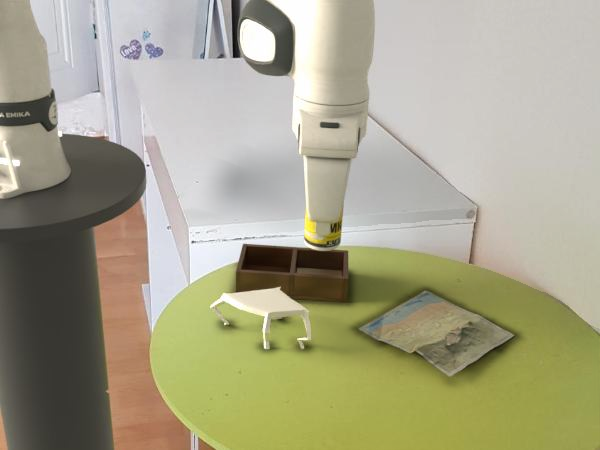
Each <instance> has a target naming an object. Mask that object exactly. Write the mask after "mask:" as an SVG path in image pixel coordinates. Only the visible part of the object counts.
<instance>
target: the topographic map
mask: <svg viewBox="0 0 600 450" xmlns="http://www.w3.org/2000/svg"><path fill="white" fill-rule="evenodd" d="M358 330H360V331H361V332H362V333H364V334H366V335H367V336H369V337H371V338H372V339H374V340H376V341H379V342H383V343H386V344H389V345H390V346H393V347H396V348H398V349H400V350H402V351H403V352H406V353H409V354H411V353H414V352H416V353H418V354H419V355H421V356H422V357H423V358H424V359H425V360H426V361H427V362H428V363H430V364H431V365H433V367H435V368H436V369H437V370H439V371H440V372H442V374H445V375H446V376H448V377H450V378H451V377H453V376H455V375H456V374H457V373H459V372H461V371H462V370H463V369H465V368H466V367H467V366H468V365H470V364H472V363H474V362H476V361H478V360H479V359H480V358H482V357H483V356H485V354H487V353H488V352H489V351H491V350H493V349H494V348H497V347H498V346H500V345H502V344H504V343H506V342H507V341H509V340H510V339H512V338H513V337H514V336H515V334H513V333H511V332H510V331H508V330H506V329H504V328H502V327H500V326H499V325H496V324H495V323H493V322H492V321H490V320H488V319H486V318H485V317H483V316H481V315H480V314H476V313H475V312H471V311H469V310H467V309H464V308H463V307H460V306H458V305H456V304H453V303H452V302H450V301H448V300H446V299H445V298H442V297H440V296H438V295H436V294H435V293H432V292H430V291H428V290H424V291H422V292H421V293H419V294H416V295H415V296H413V297H412V298H410V299H408V300H406V301H405V302H403V303H401V304H400V305H399V304H398V305H397V306H396V307H393V308H392V309H391V310H389V311H387V312H385V313H384V314H382V315H380V316H378V317H376V318H375V319H373V320H371V321H370V322H368V323H365V324H364V325H363V326H361V327H359V328H358Z"/></svg>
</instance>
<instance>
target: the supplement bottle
mask: <svg viewBox="0 0 600 450" xmlns="http://www.w3.org/2000/svg"><path fill="white" fill-rule="evenodd" d="M344 205H345V204H343V207H344ZM343 216H344V208H343V209H342V213H341V216H340V219H339V221H338V222H336V223H331V226H330V234H329V235H328V236H322V235H317V234H316V233H315V228H316V222H313V221H310V220H309V219H308V215H307V208H306V207H305V214H304V229H303V230H304V232H303V242H304V244H305V246H306V247H307V248H311V249H314V250H319V251H330V250H337V248H339V247H340V245H341V241H342V230H343Z"/></svg>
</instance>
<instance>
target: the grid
mask: <svg viewBox="0 0 600 450" xmlns="http://www.w3.org/2000/svg"><path fill="white" fill-rule="evenodd" d="M277 287H281V288H280V290H281V291H282V292H283V293H284V294H286V295H287V296H288V297H290V298H291V299H292V300H306V301H307V300H308V301H320V302H321V301H322V302H337V303H338V302H339V303H347V302H348V301H347V300H348V291H349V250H347V249H346V250H345V249H334V250H330V251H319V250H314V249H311V248H309V247H302V246H301V247H299V246H288V245H287V246H285V245H270V244H269V245H268V244H256V243H255V244H254V243H242V246H241V250H240V253H239V258H238V262H237V265H236V270H235V293H239V292H247V291H255V290H264V289H272V288H277Z"/></svg>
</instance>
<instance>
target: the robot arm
mask: <svg viewBox="0 0 600 450" xmlns="http://www.w3.org/2000/svg"><path fill="white" fill-rule="evenodd" d="M375 13H376V12H375V3H374V0H248V2H247V3H246V4H245V5H244V7H243V9H242V10H241V12H240V14H239V18H238V24H237V30H236V31H237V43H238V44H237V45H238V49H239V52H240V55H241V56H242V58H243V60H244V61H245V63H247V65H248V66H249V67H250V68H251V69H253V70H254V72H257V74H260V75H264V76H269V77H270V76H271V77H288V78H291V79H292V80H293V83H294V87H293V97H292V98H293V99H292V100H293V101H292V120H291V121H292V123H291V128H292V132H293V134H294V135H295V137H296V140H297V143H298V148H297V149H298V155H300V156H302V157H303V158H302V159H303V175H304V191H305V194H304V195H305V209H306V208H307V215H308V219H309V220H310V221H313V222H316V228H315V233H316V234H317V235H322V236H328V235H329V234H330V226H331V223H336V222H338V221H339V219H340V216H341V213H342V209H343V210H344V206H343V204H344V203H345V198H346V192H347V187H348V182H349V176H350V171H351V167H352V166H351V165H352V161H353V159H356V158H357V157H358V151H359V146H360V144H361V142H362V140H363V138H364V137H365V136H366V135H367V128H368V127H367V126H368V116H369V115H368V114H369V104H370V103H369V102H370V87H369V81H368V80H369V79H368V77H369V70H370V68H371V65H372V62H373V58H374V51H375V50H374V49H375V34H376V32H375V31H376V14H375ZM58 123H59V110H58V104H57V99H56V92H55V90H54V88H52V80H51V72H50V62H49V53H48V45H47V41H46V38H45V37H44V35H42V33H41V32H40V30H39V28H38V23H37V22H36V19H35V16H34V13H33V8H32V6H31V0H0V199H7V198H12V197H15V196H17V195H20V194H23V193H26V192H32V191H37V190H42V189H46V188H49V187H52V186H54V185H57V184H59V183H61V182H63V181H64V180H66V179H67V178H68V177H69V175H70V173H71V169H70V167H69V164H68V162H67V160H66V157H65V154H64V152H63V148H62V145H61V141H60V137H59V136H62V134H63V132H62V131H61V130H59V129H58ZM344 205H345V204H344Z"/></svg>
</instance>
